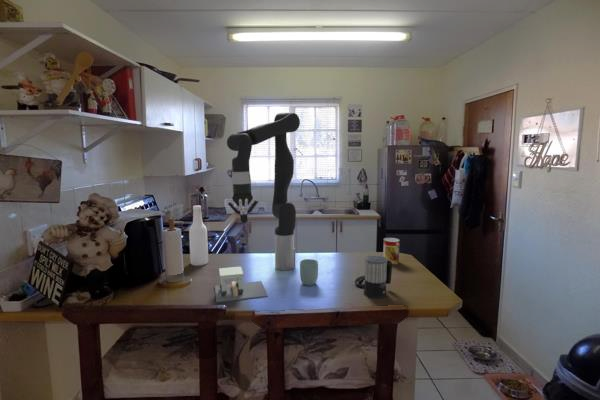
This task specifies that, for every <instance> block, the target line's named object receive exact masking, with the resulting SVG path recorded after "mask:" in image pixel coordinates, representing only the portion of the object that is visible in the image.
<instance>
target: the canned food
mask: <svg viewBox="0 0 600 400" xmlns="http://www.w3.org/2000/svg"><path fill="white" fill-rule="evenodd" d="M382 249H383V250H382V251H383V256H382V257H385V258H387V259H388V260H390V261H391V263H392V265H398V264H399V262H400V260H399V259H400V239H399V238H395V237H384V238H383V248H382Z"/></svg>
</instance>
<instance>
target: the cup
mask: <svg viewBox="0 0 600 400" xmlns="http://www.w3.org/2000/svg"><path fill="white" fill-rule="evenodd" d="M299 275H300V281H301V284H302V285H305V286H311V287H312V286H314V285H315V284H316V283H317V281H318V277H319V276H318V275H319V262H318V260H316V259H309V258H308V259H307V258H305V259H301V260H300V262H299Z"/></svg>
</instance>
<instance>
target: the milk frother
mask: <svg viewBox="0 0 600 400" xmlns="http://www.w3.org/2000/svg"><path fill="white" fill-rule="evenodd" d="M392 271H393V264H392V263H391V261H390V260H388V259H387V258H385V257H383V256H381V255H368V256H366V257H364V275H361V276H359V277H357V278H355V280H354V285H355V286H356V287H357V286H358V287H359V288H364V289H363V294H364V295H365V296H366V297H368V298H371V299H372V298H373V299H382V298H385V297H387V293H388V292H387V284H388V285H390V284H391V281H392V274H393V272H392ZM363 283H364V284H363Z"/></svg>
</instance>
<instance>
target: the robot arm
mask: <svg viewBox="0 0 600 400" xmlns="http://www.w3.org/2000/svg"><path fill="white" fill-rule="evenodd" d="M300 120H301V119H300V116H299V115H298V114H297V113H295V112H292V111H289V112H288V111H287V112H279V113H277V114H276V115H275V116H274V119H273V122H268V123H262V124H258V125H257V126H254V127H251V128H250V129H249V128H248V129H246V130H242V131H239V132H235V133H232V134H231V135H230V136H228V138H227V139H226V145H227V147H228V149H229V150H231V151H234V152H237V155H236V156H235V157H233V158H232V159H231V168H232V174H231V176H232V179H231V181H232V197H231V198H232V199H230V201H228V202H227V204H228V206H229V207H230V209H232V210H233V212H234V213H235V214H237V215H239V217H240V222H241V223H242V224H246V223H247V222H248V214H250V213H252V211H253V210H254V208H255V207H256V206H257V204H258V202H259V201H258V200H257V199H255V198H254V197H253V194H252V178H251V173H250V171H251V170H250V158H251V154H252V153H251V152H252V147H253V146H255V145H258V144H260V143H263V142H265V141H268V140H269V139H272V138H274V146H275V147H274V180H273V181H274V182H273V183H274V185H273V186H274V187H273V188H274V189H273V196H272V197H273V199H272V205H271V213H272V215H273V217H274V218H276V219H278V226H276V227H275V229H274V262H275V263H274V266H275V269H276V270H279V271H290V270H293V269H294V268H296V248H295V247H294V246H295V244H294V243H295V241H294V240H295V239H294V238H295V237H294V235H295V234H294V232H295V231H294V230H295V229H296V219H297V209H296V207H295V205H294V204H293V203H292V202H289V201H288V190H289V187H290V184H291V182H292V180H293V177H294V174H295V173H294V169H295V168H294V167H295V159H294V157H293V153H292V152H291V151H290V147H289V146H288V142H287V141H288V140H287V134H288V133H294V132H296V131H297V130H298V129H299V127H300V125H301V123H300V122H301V121H300ZM250 203H251V204H250ZM235 204H236V206H237V207H238V209H237V208H236V206H235ZM249 205H250V206H249ZM248 206H249V207H248Z"/></svg>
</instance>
